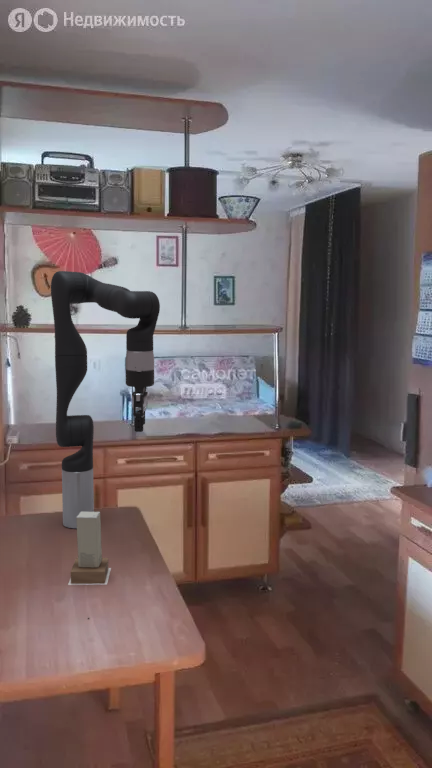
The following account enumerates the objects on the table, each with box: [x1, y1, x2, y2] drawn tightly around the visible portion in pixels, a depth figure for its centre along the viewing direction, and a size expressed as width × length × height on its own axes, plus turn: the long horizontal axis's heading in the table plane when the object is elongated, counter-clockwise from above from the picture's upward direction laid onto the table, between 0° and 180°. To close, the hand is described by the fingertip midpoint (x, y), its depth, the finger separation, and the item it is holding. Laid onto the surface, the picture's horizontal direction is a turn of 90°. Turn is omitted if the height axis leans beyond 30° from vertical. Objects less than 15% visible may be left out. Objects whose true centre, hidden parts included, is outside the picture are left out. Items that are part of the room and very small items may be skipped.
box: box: [76, 511, 103, 568], centre depth 161 cm, size 5×4×13 cm
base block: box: [70, 557, 109, 584], centre depth 162 cm, size 8×8×3 cm
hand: (140, 427), depth 176 cm, fingers open, 8 cm apart
